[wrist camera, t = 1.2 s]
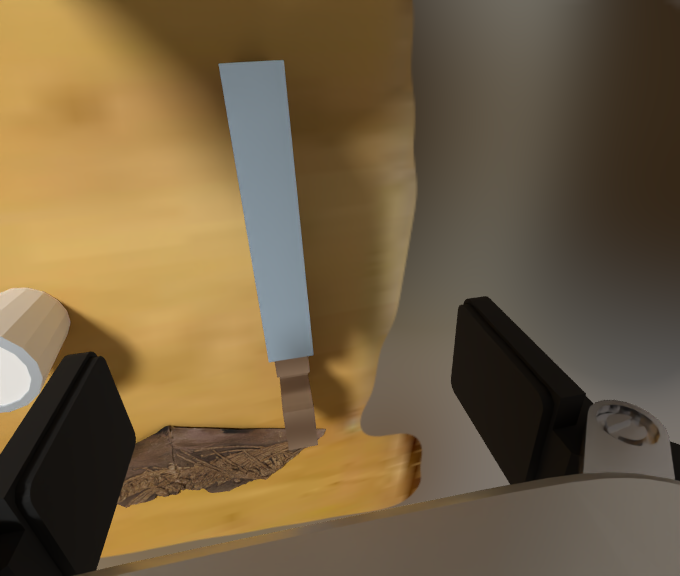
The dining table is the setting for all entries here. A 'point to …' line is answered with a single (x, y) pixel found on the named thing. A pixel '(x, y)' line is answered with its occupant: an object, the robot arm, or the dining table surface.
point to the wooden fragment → (203, 461)
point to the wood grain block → (297, 402)
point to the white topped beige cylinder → (28, 343)
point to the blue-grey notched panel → (269, 201)
